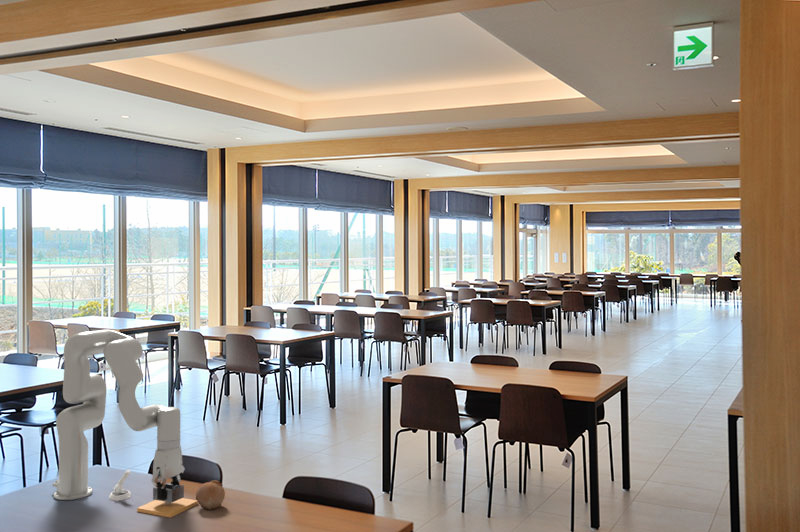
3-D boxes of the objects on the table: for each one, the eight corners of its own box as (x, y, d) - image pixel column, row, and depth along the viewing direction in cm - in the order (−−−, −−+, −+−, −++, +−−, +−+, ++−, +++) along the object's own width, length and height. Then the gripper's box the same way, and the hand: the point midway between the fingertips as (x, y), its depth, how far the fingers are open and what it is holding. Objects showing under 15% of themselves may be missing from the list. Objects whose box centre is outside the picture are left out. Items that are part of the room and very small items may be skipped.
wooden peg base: (137, 511, 232) (137, 493, 232) (165, 498, 245) (165, 481, 245) (170, 517, 226) (170, 499, 226) (197, 504, 239) (198, 486, 239)
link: (153, 499, 234) (153, 487, 234) (165, 494, 240) (165, 482, 240) (172, 502, 231) (172, 490, 231) (183, 497, 237) (183, 485, 237)
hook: (140, 486, 242) (122, 476, 240) (121, 512, 243) (103, 502, 242) (145, 475, 249) (128, 465, 248) (127, 500, 251) (110, 490, 249)
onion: (217, 512, 240) (228, 484, 243) (218, 514, 231) (230, 484, 235) (191, 504, 238) (202, 475, 242) (191, 505, 229) (203, 475, 233)
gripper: (176, 437, 245) (176, 487, 245) (142, 449, 229) (141, 503, 229) (194, 439, 242) (193, 490, 242) (159, 451, 226) (159, 506, 226)
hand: (168, 496), depth 236 cm, fingers closed on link, 6 cm apart
